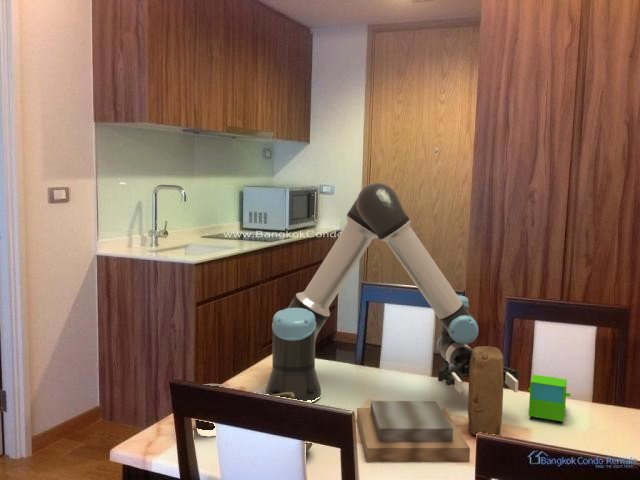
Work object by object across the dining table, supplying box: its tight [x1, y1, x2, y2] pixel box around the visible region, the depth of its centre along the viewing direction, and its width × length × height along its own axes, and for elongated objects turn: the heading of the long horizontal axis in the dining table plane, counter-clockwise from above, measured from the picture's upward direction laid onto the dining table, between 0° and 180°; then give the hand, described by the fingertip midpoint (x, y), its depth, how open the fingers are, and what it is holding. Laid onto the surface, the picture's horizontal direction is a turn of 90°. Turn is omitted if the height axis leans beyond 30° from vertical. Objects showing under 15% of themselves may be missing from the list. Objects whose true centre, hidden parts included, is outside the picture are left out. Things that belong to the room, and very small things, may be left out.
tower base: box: [356, 400, 471, 463], centre depth 136 cm, size 22×22×6 cm
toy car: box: [528, 374, 571, 424], centre depth 152 cm, size 10×13×10 cm
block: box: [467, 345, 504, 436], centre depth 141 cm, size 11×8×20 cm
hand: (488, 386), depth 140 cm, fingers open, 13 cm apart
